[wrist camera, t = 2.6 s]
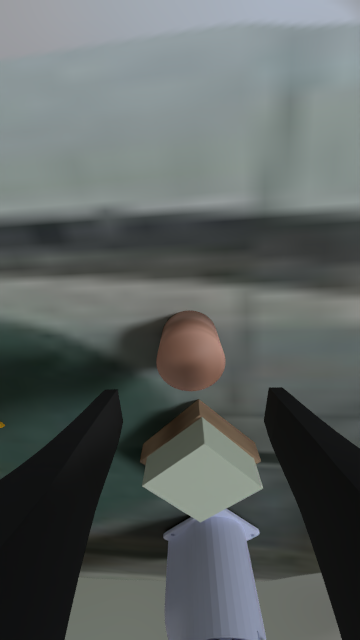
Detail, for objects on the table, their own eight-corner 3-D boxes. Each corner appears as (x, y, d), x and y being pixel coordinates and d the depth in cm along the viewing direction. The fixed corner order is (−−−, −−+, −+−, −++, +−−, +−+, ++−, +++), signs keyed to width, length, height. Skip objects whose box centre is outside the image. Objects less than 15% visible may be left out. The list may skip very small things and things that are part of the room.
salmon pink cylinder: (189, 368, 19) (191, 401, 15) (151, 336, 18) (142, 364, 14) (227, 335, 17) (239, 362, 14) (188, 299, 16) (190, 318, 13)
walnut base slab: (198, 474, 25) (199, 499, 22) (144, 438, 23) (139, 461, 20) (252, 437, 22) (260, 461, 20) (198, 394, 20) (199, 414, 18)
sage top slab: (198, 491, 22) (200, 522, 19) (147, 456, 20) (142, 486, 18) (253, 458, 20) (263, 488, 18) (202, 416, 18) (204, 443, 16)
